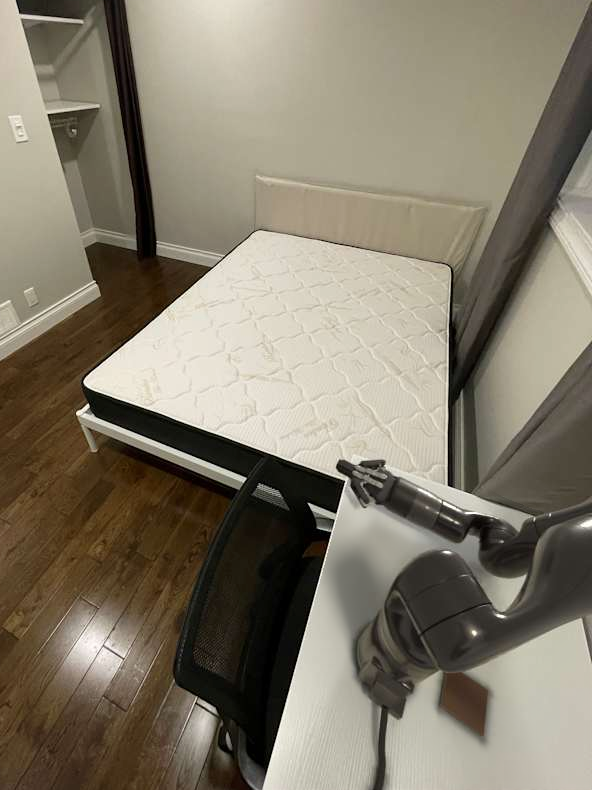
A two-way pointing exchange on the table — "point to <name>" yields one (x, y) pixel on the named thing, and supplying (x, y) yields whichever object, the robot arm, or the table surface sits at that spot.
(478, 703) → the coaster
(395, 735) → the table surface
